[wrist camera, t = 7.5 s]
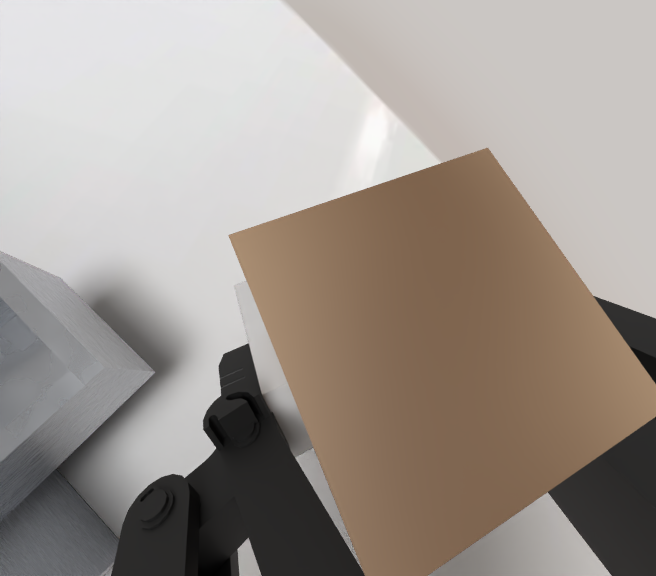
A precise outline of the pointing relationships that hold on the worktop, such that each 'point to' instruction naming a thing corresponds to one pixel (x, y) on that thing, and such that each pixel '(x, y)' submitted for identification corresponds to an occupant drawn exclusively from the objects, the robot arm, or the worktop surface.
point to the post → (439, 357)
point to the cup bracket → (53, 420)
